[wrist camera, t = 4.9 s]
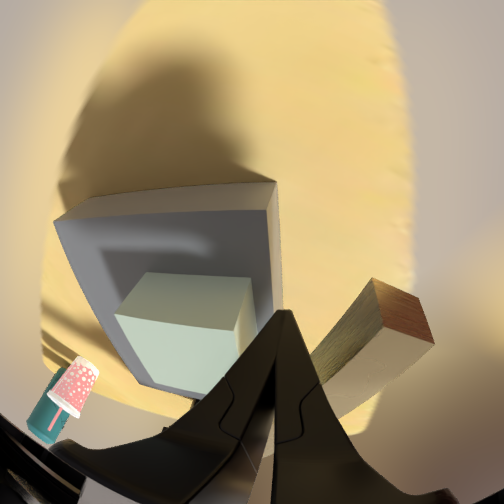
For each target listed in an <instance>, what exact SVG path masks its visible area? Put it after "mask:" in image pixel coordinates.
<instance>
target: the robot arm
mask: <svg viewBox="0 0 504 504" xmlns="http://www.w3.org/2000/svg"><path fill="white" fill-rule="evenodd" d="M224 376H225V377H224ZM224 376H223V377H222V378H221V379H220V380H219V382H218V383H217V384H216V385H215V386H214V387H213V388H212V389H211V390H210V392H209V393H208V394H207V395H206V396H205V397H204V398H202V399H201V400H200V399H196V398H193V402H192V405H191V407H190V410H189V411H188V412H187V413H185V414H184V415H183V416H182V417H181V418H180V419H178V420H177V421H176V422H175V423H174V424H172V425H171V426H169V428H168V427H163V430H162V432H161V433H159V434H158V435H155V436H153V437H150V438H146V439H143V440H139V441H135V442H132V443H128V444H124V445H119V446H115V447H111V448H106V449H88V448H85V447H83V446H81V445H79V444H78V443H76V442H75V441H73V440H71V439H66V440H63V441H60V442H57V443H55V444H54V445H52V446H51V447H50V448H49V450H48V449H46V448H45V447H43V446H42V445H41V444H39V443H38V442H36V441H35V440H33V439H32V438H31V437H29V436H28V435H27V434H25V433H24V432H23V431H21V430H20V429H19V428H18V427H16V426H15V425H14V424H13V423H11V422H10V421H9V420H8V419H7V418H6V417H4V416H3V415H2V414H1V413H0V504H247V503H248V500H249V497H250V494H251V491H252V488H253V485H254V482H255V479H256V476H257V473H258V470H259V466H260V463H261V459H262V457H263V453H264V450H265V447H266V443H267V440H268V436H269V433H270V429H271V426H272V422H273V418H274V464H273V479H272V491H271V504H460V503H459V501H458V499H457V498H456V497H455V496H454V494H453V493H452V492H451V491H450V489H449V488H444V489H440V490H436V491H433V492H429V493H426V494H422V495H409V494H406V493H403V492H402V491H400V490H399V489H397V488H396V487H395V486H394V485H393V484H391V483H390V482H389V481H388V480H386V479H385V478H384V477H383V476H382V475H380V474H379V473H378V472H377V471H376V470H374V469H373V468H372V467H371V466H370V465H369V464H368V463H366V462H365V461H364V460H363V458H362V457H361V456H360V455H359V453H358V452H357V450H356V449H355V447H354V446H353V444H352V442H351V441H350V439H349V438H348V436H347V434H346V432H345V431H344V429H343V427H342V426H341V424H340V422H339V420H338V419H337V417H336V415H335V413H334V411H333V409H332V407H331V406H330V403H329V401H328V399H327V397H326V394H325V392H324V390H323V387H322V384H321V383H320V380H319V377H318V375H317V372H316V370H315V367H314V365H313V362H312V359H311V357H310V354H309V352H308V349H307V347H306V344H305V342H304V339H303V337H302V334H301V332H300V330H299V327H298V325H297V322H296V320H295V317H294V315H293V312H292V311H291V310H287V309H278V310H276V311H275V313H274V314H273V315H272V317H271V318H270V319H269V320H268V322H267V323H266V324H265V326H264V327H263V328H262V329H261V331H260V332H259V333H258V334H257V336H256V337H255V338H254V339H253V341H252V342H251V343H250V344H249V346H248V347H247V348H246V349H245V351H244V352H243V353H242V354H241V355H240V357H239V358H238V359H237V360H236V362H235V363H234V364H233V365H232V366H231V368H230V369H229V370H228V371H227V372H226V373H225V375H224ZM473 504H504V488H503V489H501V490H499V491H497V492H496V493H493V494H491V495H489V496H487V497H485V498H483V499H481V500H479V501H477V502H475V503H473Z"/></svg>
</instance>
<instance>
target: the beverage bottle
mask: <svg viewBox="0 0 504 504" xmlns="http://www.w3.org/2000/svg"><path fill="white" fill-rule="evenodd" d="M65 371H66V369H65V368H62V367H61V368H60V369H59V370H58V371H57V373H56V374H55V375H54V377H53V379H52V380H51V382H50V384H49V385H48V387H47V388H46V390H45V392H44V393H43V395H42V397H41V398H40V400H39V402H38V403H37V405H36V407H35V408H34V410H33V412H32V413H31V415H30V417H29V418H28V420H27V421H26V422H27V425H28V429H29V430H30V431H31V432H32V433H34V434H35V435H36V436H37V437H38V438H40V439H41V440H42V441H44V442H45V443H47V444H53V443H55V441H56V439H57V437H58V435H59V433H60V431H61V430H62V429H63V426H64V424H65V422H66V420H67V418H68V417H69V415H70V414H69V413H67V412H66V411H64V410H63V409H62V411H61V413H60V414H59V416H58V418H57V420H56V421H55V423H54V425H53V427H52V429H51V430H50V431H49V430H48V427H49V426H50V424H51V422H52V420H53V419H54V417H55V415H56V413H57V412H58V410H59V408H60V407H59V406H58V405H57V404H56V403H55V402H53V401H52V400H51V399H50V398H49V397H48V395H47V393H48V392H49V390H52V388H53V387H54V386H55V384H56V383H57V382H58V380H59V379H60V378H61V377H62V375H63V374H64V373H65Z"/></svg>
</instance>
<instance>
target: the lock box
mask: <svg viewBox="0 0 504 504" xmlns="http://www.w3.org/2000/svg"><path fill="white" fill-rule="evenodd" d="M53 223H54V226H55V228H56V231H57V234H58V236H59V239H60V242H61V244H62V247H63V249H64V252H65V254H66V256H67V259H68V261H69V263H70V266H71V268H72V270H73V272H74V274H75V277H76V279H77V281H78V283H79V285H80V287H81V289H82V291H83V293H84V295H85V297H86V299H87V301H88V303H89V305H90V306H91V308H92V310H93V312H94V314H95V316H96V317H97V319H98V321H99V323H100V324H101V326H102V328H103V330H104V331H105V333H106V335H107V336H108V338H109V340H110V341H111V343H112V344H113V346H114V348H115V349H116V351H117V352H118V354H119V355H120V357H121V358H122V360H123V361H124V363H125V364H126V366H127V367H128V369H129V370H130V372H131V373H132V374H133V376H134V377H135V379H136V380H137V381H138V383H139V384H141V385H144V386H147V387H151V388H155V389H158V390H162V391H166V392H170V393H174V394H178V395H182V396H186V397H191V398H196V399H200V400H201V399H202V398H204V397H205V396H206V395H207V394H202V393H197V392H192V391H187V390H183V389H178V388H174V387H170V386H166V385H162V384H158V383H155V382H154V381H153V379H152V378H151V376H150V375H149V373H148V372H147V370H146V369H145V367H144V366H143V364H142V362H141V361H140V359H139V357H138V356H137V354H136V353H135V351H134V349H133V347H132V346H131V344H130V342H129V341H128V339H127V337H126V335H125V334H124V332H123V330H122V328H121V326H120V324H119V323H118V321H117V319H116V317H115V315H114V313H115V312H116V310H117V309H118V308H119V306H120V305H121V304H122V302H123V301H124V300H125V298H126V297H127V296H128V295H129V293H130V292H131V291H132V289H133V288H134V287H135V286H136V284H137V283H138V282H139V281H140V279H141V278H142V277H143V276H144V274H145V273H146V272H153V273H169V274H186V275H204V276H225V277H248V278H251V282H252V291H253V299H254V307H255V315H256V323H257V331H258V333H259V332H260V331H261V329H262V328H263V327H264V326H265V324H266V323H267V322H268V320H269V319H270V318H271V317H272V315H273V314H274V313H275V311H276V310H278V309H283V289H282V264H281V242H280V223H279V206H278V190H277V182H253V183H230V184H212V185H198V186H185V187H173V188H163V189H153V190H144V191H135V192H127V193H120V194H112V195H105V196H98V197H92V198H88V199H86V200H85V201H83V202H82V203H80V204H78V205H77V206H75V207H74V208H72V209H71V210H69V211H68V212H66V213H65V214H63V215H62V216H60V217H59V218H58V219H56V220H55V221H53Z"/></svg>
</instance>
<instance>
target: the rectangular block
mask: <svg viewBox="0 0 504 504" xmlns="http://www.w3.org/2000/svg"><path fill="white" fill-rule="evenodd" d="M114 315H115V317H116V319H117V321H118V323H119V324H120V326H121V328H122V330H123V332H124V334H125V335H126V337H127V339H128V341H129V342H130V344H131V346H132V347H133V349H134V351H135V353H136V354H137V356H138V357H139V359H140V361H141V362H142V364H143V366H144V367H145V369H146V370H147V372H148V373H149V375H150V376H151V378H152V379H153V381H154V382H155V383H158V384H162V385H166V386H170V387H174V388H178V389H183V390H187V391H192V392H197V393H202V394H208V393H209V392H210V390H211V389H212V388H213V387H214V386H215V385H216V384H217V383H218V382H219V380H220V379H221V378H222V377H223V376H224V375H225V373H226V372H227V371H228V370H229V369H230V368H231V366H232V365H233V364H234V363H235V362H236V360H237V359H238V358H239V357H240V355H241V354H242V353H243V352H244V351H245V349H246V348H247V347H248V346H249V344H250V343H251V342H252V341H253V339H254V338H255V337H256V336H257V334H258V331H257V323H256V315H255V307H254V299H253V291H252V282H251V278H248V277H225V276H204V275H186V274H169V273H153V272H146V273H145V274H144V276H143V277H142V278H141V279H140V281H139V282H138V283H137V284H136V286H135V287H134V288H133V289H132V291H131V292H130V293H129V295H128V296H127V297H126V298H125V300H124V301H123V302H122V304H121V305H120V306H119V308H118V309H117V310H116V312H115V313H114ZM224 377H225V376H224Z"/></svg>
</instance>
